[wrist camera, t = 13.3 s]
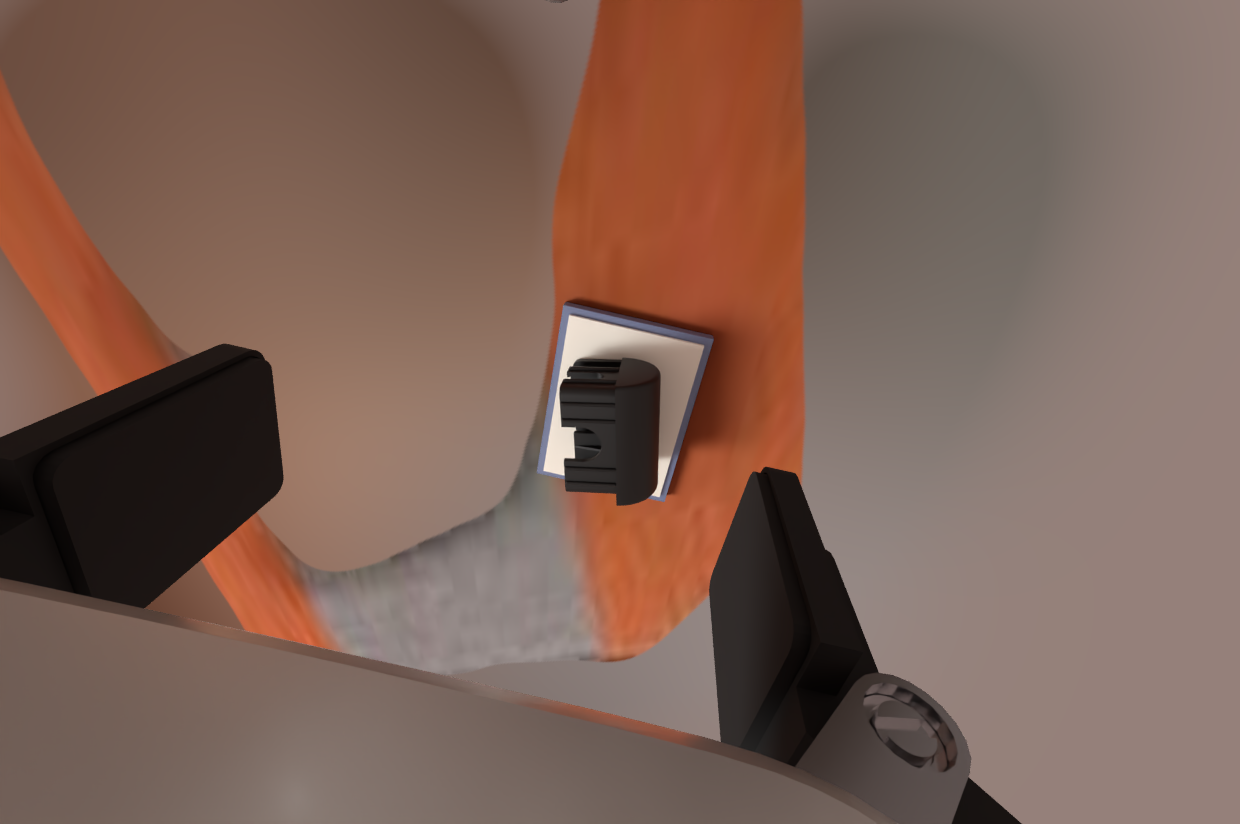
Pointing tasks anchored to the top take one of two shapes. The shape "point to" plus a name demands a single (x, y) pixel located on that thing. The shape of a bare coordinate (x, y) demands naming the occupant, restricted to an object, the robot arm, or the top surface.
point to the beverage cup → (557, 1)
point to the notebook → (614, 339)
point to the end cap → (612, 427)
